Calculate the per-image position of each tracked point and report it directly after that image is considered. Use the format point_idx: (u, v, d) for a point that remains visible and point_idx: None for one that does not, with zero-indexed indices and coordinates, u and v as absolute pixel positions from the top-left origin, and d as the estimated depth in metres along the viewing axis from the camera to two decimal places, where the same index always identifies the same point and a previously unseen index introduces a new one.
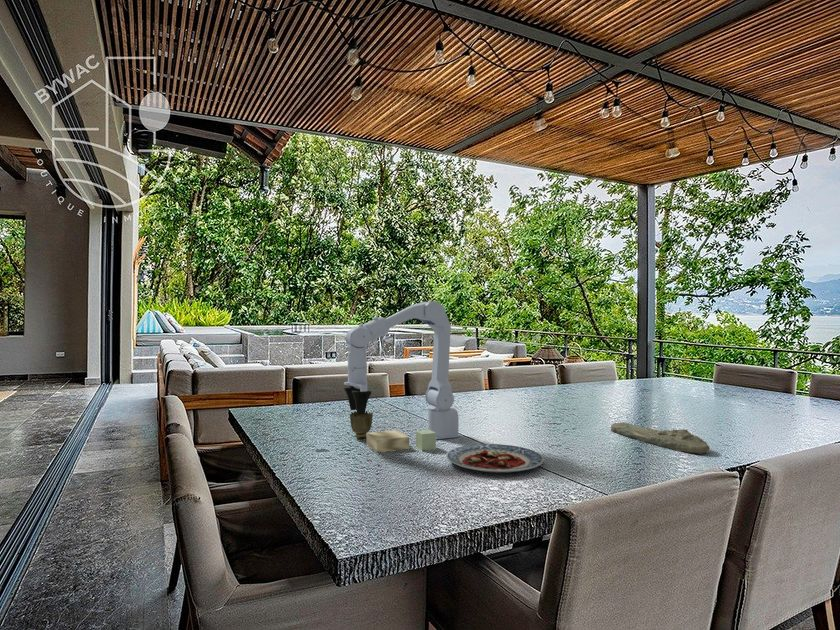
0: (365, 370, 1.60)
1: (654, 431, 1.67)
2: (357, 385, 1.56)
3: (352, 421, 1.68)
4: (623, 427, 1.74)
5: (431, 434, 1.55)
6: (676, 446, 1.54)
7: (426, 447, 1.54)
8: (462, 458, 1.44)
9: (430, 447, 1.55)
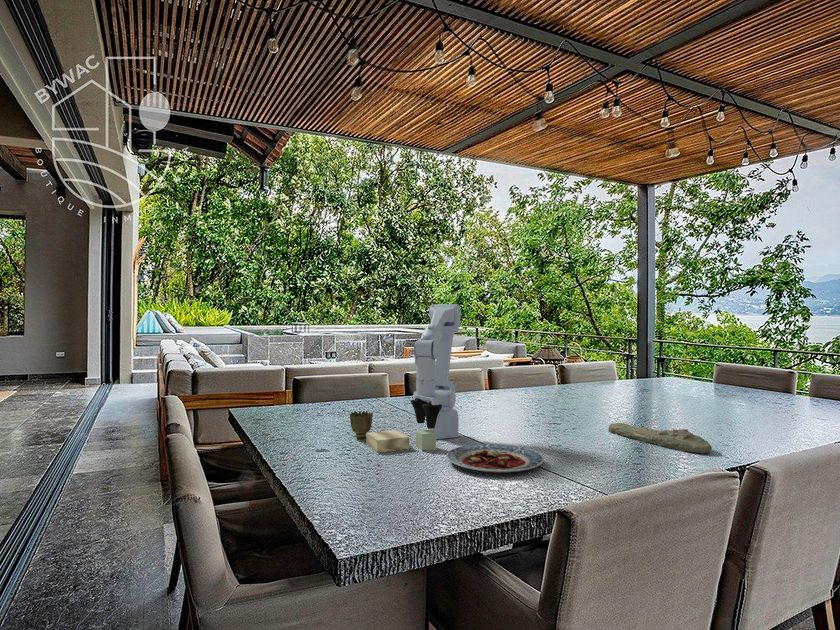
0: (434, 383, 1.56)
1: (654, 431, 1.67)
2: (428, 398, 1.52)
3: (352, 421, 1.68)
4: (622, 427, 1.74)
5: (431, 434, 1.55)
6: (679, 446, 1.54)
7: (426, 447, 1.54)
8: (462, 458, 1.44)
9: (430, 447, 1.55)
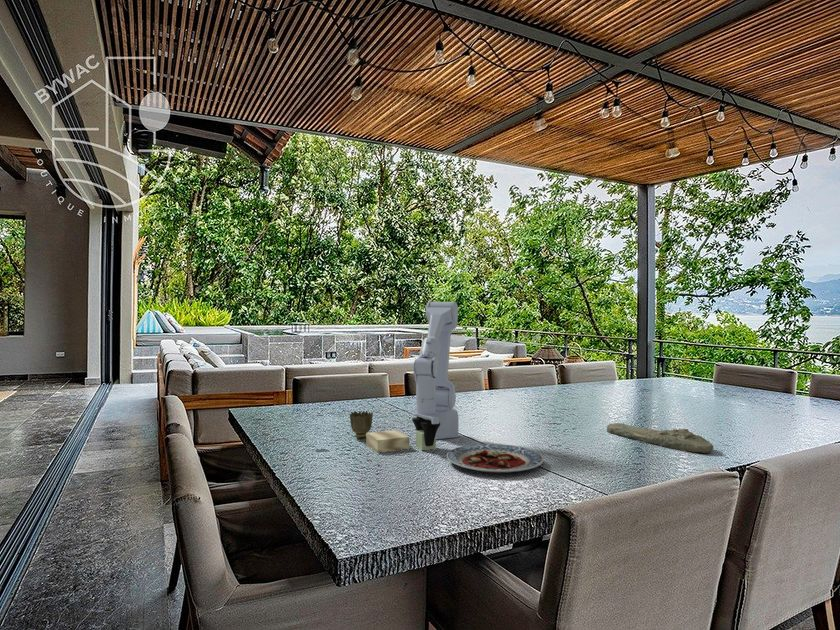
0: (434, 401, 1.56)
1: (653, 431, 1.67)
2: (428, 417, 1.52)
3: (352, 421, 1.68)
4: (621, 428, 1.73)
5: None
6: (681, 446, 1.54)
7: (426, 446, 1.54)
8: (462, 458, 1.44)
9: (430, 447, 1.55)
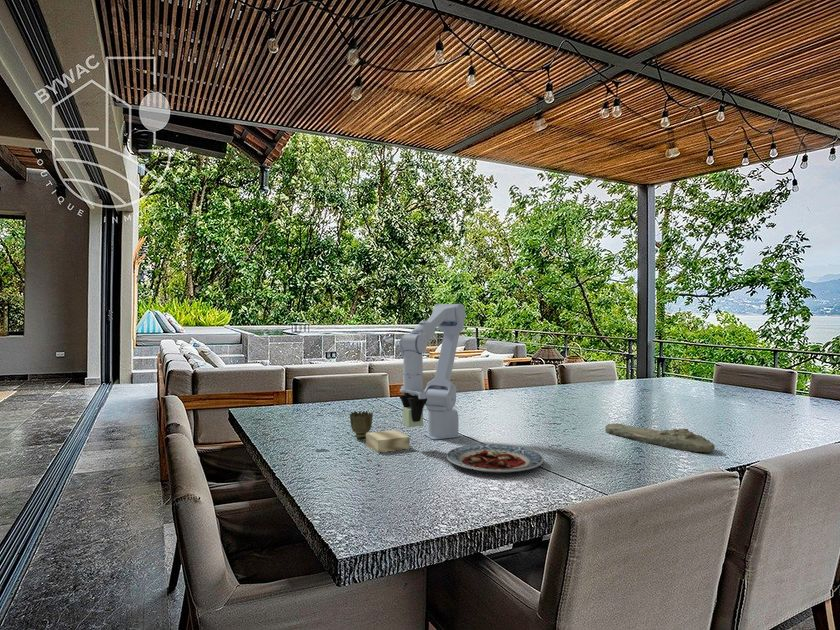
0: (421, 377, 1.56)
1: (653, 431, 1.66)
2: (415, 392, 1.52)
3: (352, 421, 1.68)
4: (620, 428, 1.73)
5: None
6: (682, 446, 1.54)
7: (413, 422, 1.55)
8: (462, 458, 1.44)
9: (417, 423, 1.55)
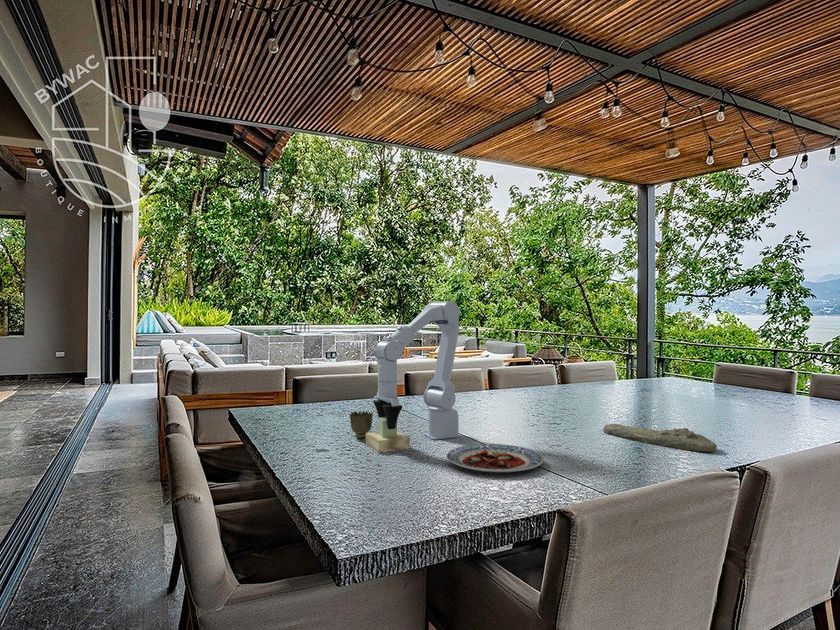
0: (395, 384, 1.57)
1: (653, 431, 1.66)
2: (388, 399, 1.53)
3: (352, 421, 1.68)
4: (619, 429, 1.72)
5: None
6: (685, 446, 1.55)
7: (386, 433, 1.56)
8: (462, 458, 1.44)
9: (391, 433, 1.57)
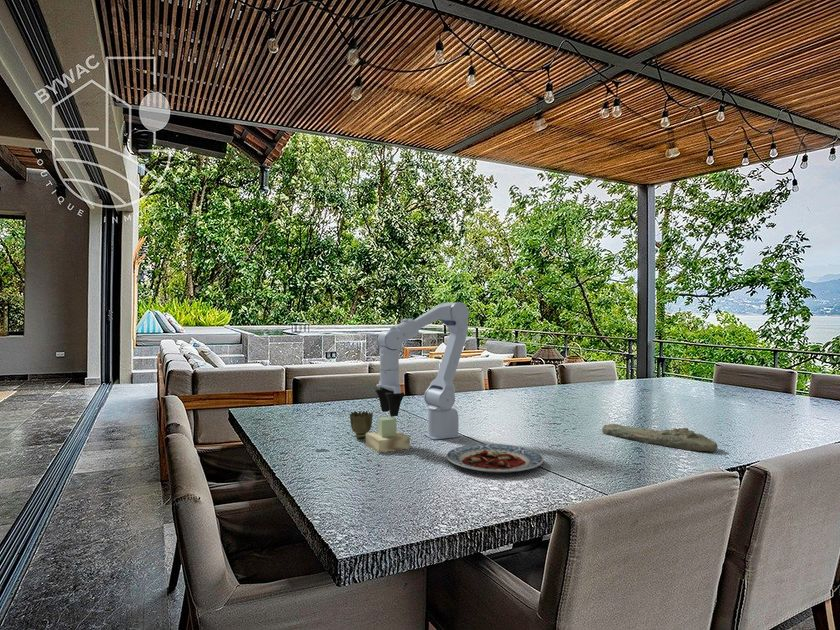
0: (397, 372, 1.61)
1: (653, 431, 1.66)
2: (390, 387, 1.57)
3: (352, 421, 1.68)
4: (619, 429, 1.72)
5: (391, 420, 1.57)
6: (686, 445, 1.55)
7: (386, 433, 1.56)
8: (462, 458, 1.44)
9: (390, 433, 1.57)
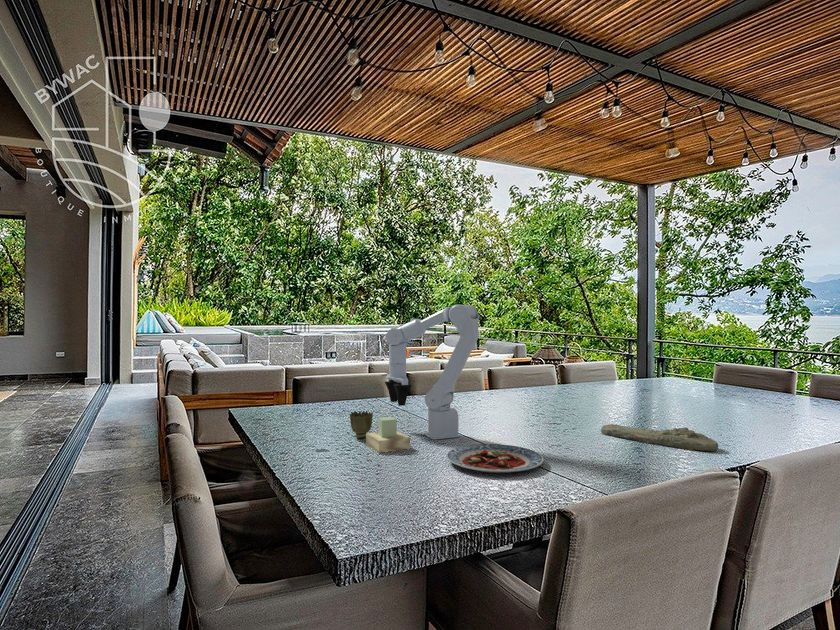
0: (405, 366, 1.78)
1: (653, 431, 1.66)
2: (399, 379, 1.74)
3: (352, 421, 1.68)
4: (618, 429, 1.71)
5: (392, 421, 1.57)
6: (688, 445, 1.55)
7: (386, 433, 1.56)
8: (462, 458, 1.44)
9: (390, 433, 1.57)
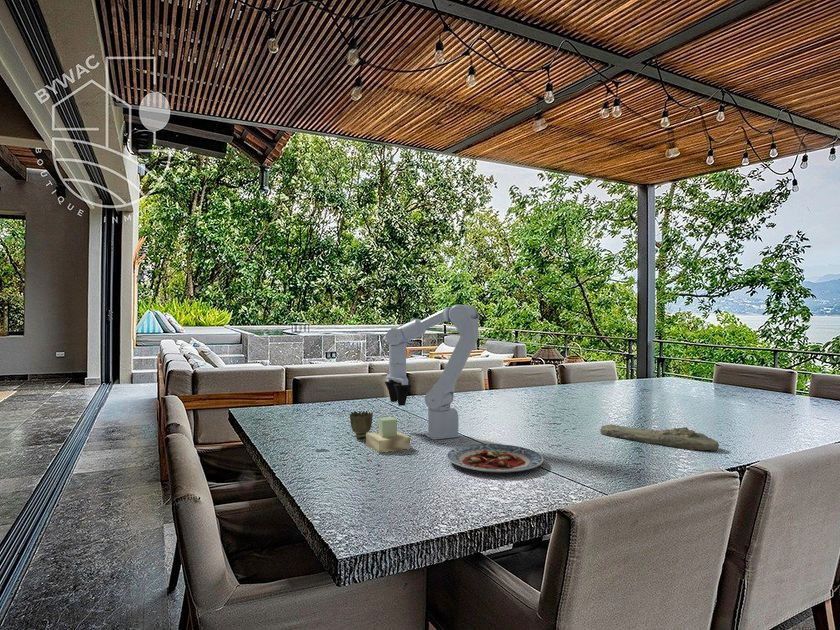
0: (405, 366, 1.78)
1: (653, 431, 1.66)
2: (399, 379, 1.74)
3: (352, 421, 1.68)
4: (618, 429, 1.71)
5: (392, 421, 1.56)
6: (689, 445, 1.55)
7: (386, 433, 1.56)
8: (462, 458, 1.44)
9: (391, 434, 1.56)
